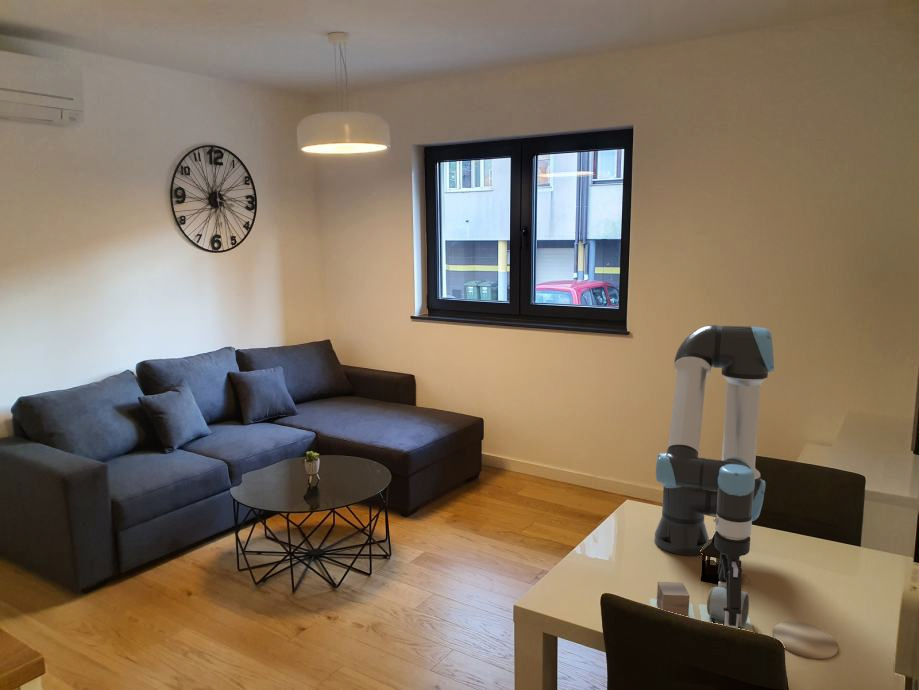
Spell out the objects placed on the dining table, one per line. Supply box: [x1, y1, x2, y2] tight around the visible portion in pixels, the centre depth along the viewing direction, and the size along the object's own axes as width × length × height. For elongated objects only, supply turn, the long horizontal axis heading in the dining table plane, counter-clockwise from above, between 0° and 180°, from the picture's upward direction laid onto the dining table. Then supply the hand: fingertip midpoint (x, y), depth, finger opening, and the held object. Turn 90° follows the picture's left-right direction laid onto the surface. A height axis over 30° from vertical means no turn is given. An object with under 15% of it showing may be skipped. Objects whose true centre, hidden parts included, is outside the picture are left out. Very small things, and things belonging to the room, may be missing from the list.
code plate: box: [698, 603, 755, 633], centre depth 157 cm, size 14×11×1 cm
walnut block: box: [656, 581, 690, 616], centre depth 161 cm, size 6×6×6 cm
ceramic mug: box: [706, 586, 750, 627], centre depth 156 cm, size 11×8×8 cm
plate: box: [649, 597, 696, 619], centre depth 162 cm, size 10×10×1 cm
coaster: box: [772, 621, 839, 660], centre depth 150 cm, size 13×13×1 cm
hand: (726, 621), depth 157 cm, fingers closed on ceramic mug, 11 cm apart
